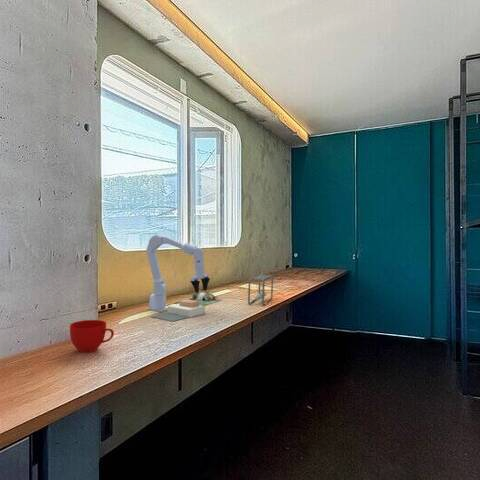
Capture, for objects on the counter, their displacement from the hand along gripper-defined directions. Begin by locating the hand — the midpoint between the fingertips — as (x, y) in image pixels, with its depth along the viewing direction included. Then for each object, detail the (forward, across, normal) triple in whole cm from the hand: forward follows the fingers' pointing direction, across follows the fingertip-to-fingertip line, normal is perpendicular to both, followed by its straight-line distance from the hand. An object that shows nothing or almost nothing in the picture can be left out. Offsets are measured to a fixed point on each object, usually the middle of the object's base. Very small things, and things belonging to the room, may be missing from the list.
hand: (201, 291), depth 217 cm
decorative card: (+12, +22, +19) cm, 32 cm away
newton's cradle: (+16, +49, -12) cm, 53 cm away
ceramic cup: (+8, -83, -12) cm, 84 cm away
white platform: (+11, -11, +3) cm, 16 cm away
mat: (+10, -24, +3) cm, 27 cm away
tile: (+6, -8, +3) cm, 10 cm away
